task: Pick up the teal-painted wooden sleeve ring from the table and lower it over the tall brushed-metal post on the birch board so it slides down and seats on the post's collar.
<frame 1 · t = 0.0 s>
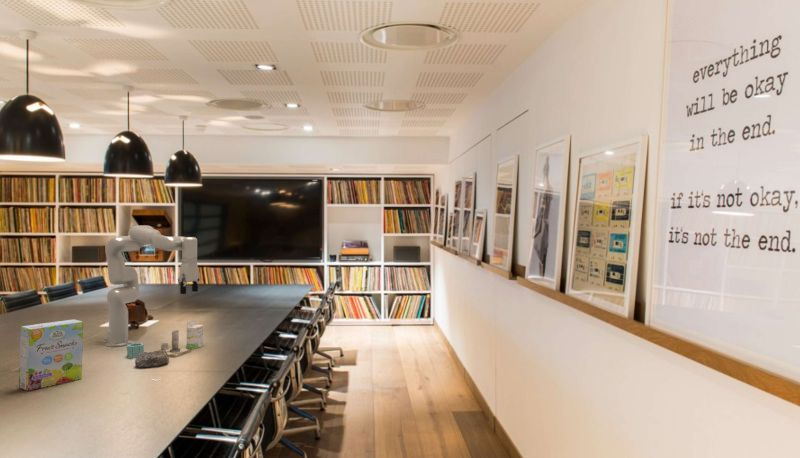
hand: (189, 292, 285), 31 cm above the table, fingers open, 9 cm apart
rock: (152, 365, 259), on the table
snack box: (51, 384, 227), on the table
paper: (147, 384, 231), on the table
board: (170, 353, 280), on the table
ring: (135, 356, 272), on the table
ink box: (194, 347, 293), on the table
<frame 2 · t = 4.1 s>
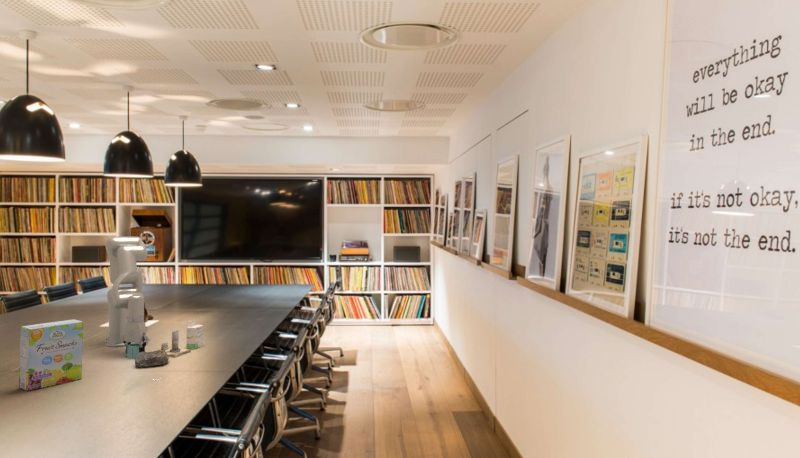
hand: (135, 353, 272), 1 cm above the table, fingers closed on ring, 7 cm apart
ring: (135, 356, 272), on the table, touching gripper
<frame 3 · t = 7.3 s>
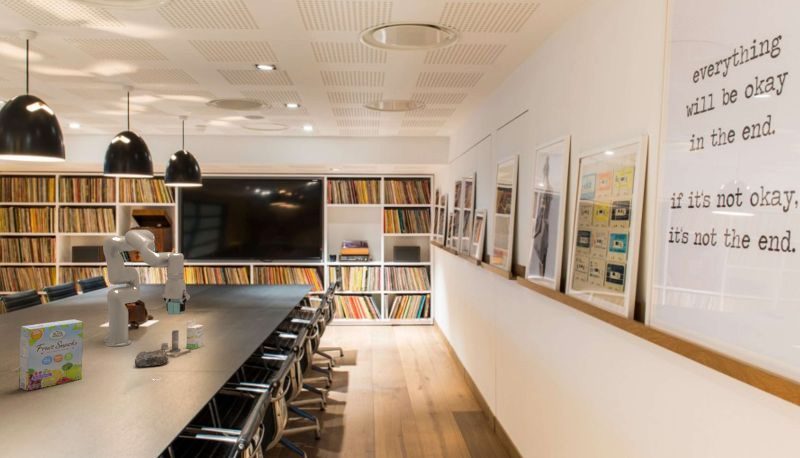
hand: (175, 310, 279), 23 cm above the table, fingers closed on ring, 7 cm apart
ring: (175, 313, 279), point 21 cm above the table, touching gripper
when the fingers open (6 cm above the table, at t = 10.9 s): ring drops 3 cm, resting on board.
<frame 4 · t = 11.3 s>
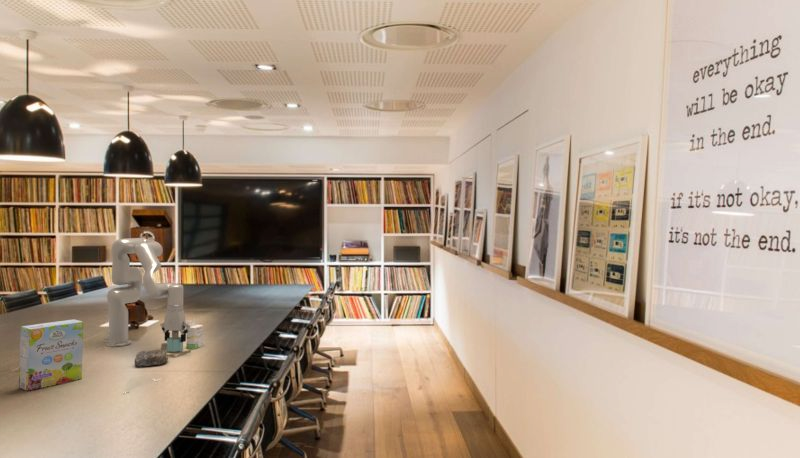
hand: (175, 340, 279), 7 cm above the table, fingers open, 9 cm apart
ring: (175, 349, 279), point 2 cm above the table, touching board
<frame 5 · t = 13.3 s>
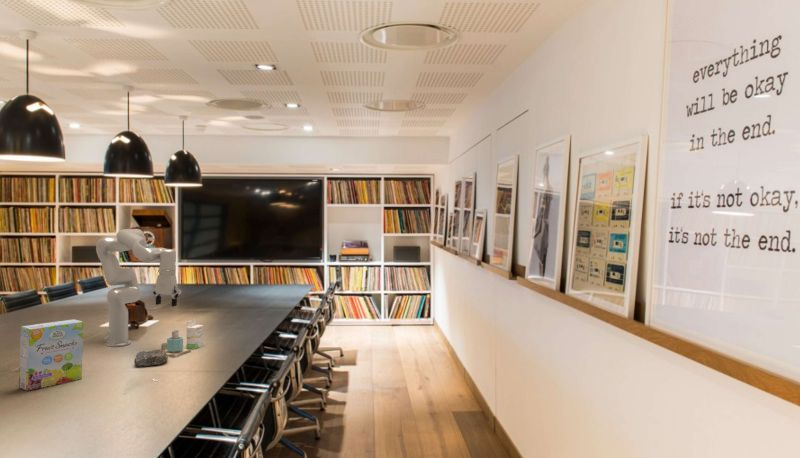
hand: (166, 305, 281), 25 cm above the table, fingers open, 9 cm apart
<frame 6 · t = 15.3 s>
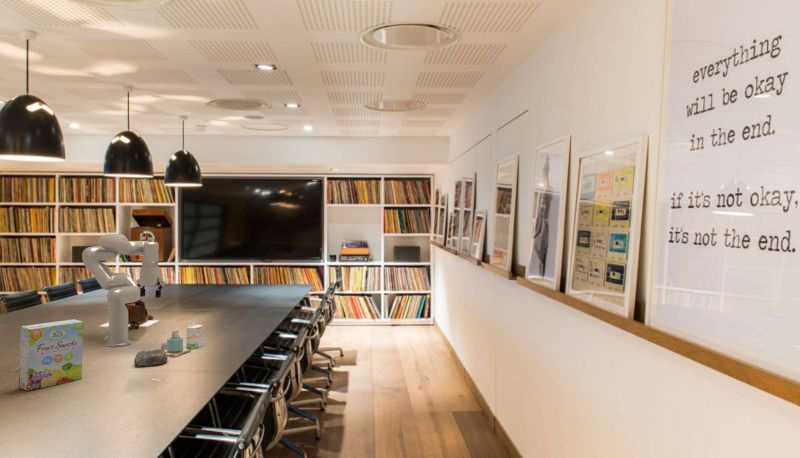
hand: (150, 296, 286), 28 cm above the table, fingers open, 9 cm apart
at the end: ring 0.0 cm from the target spot on the board, point 2.1 cm above the board's base; the gripper is holding nothing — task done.
